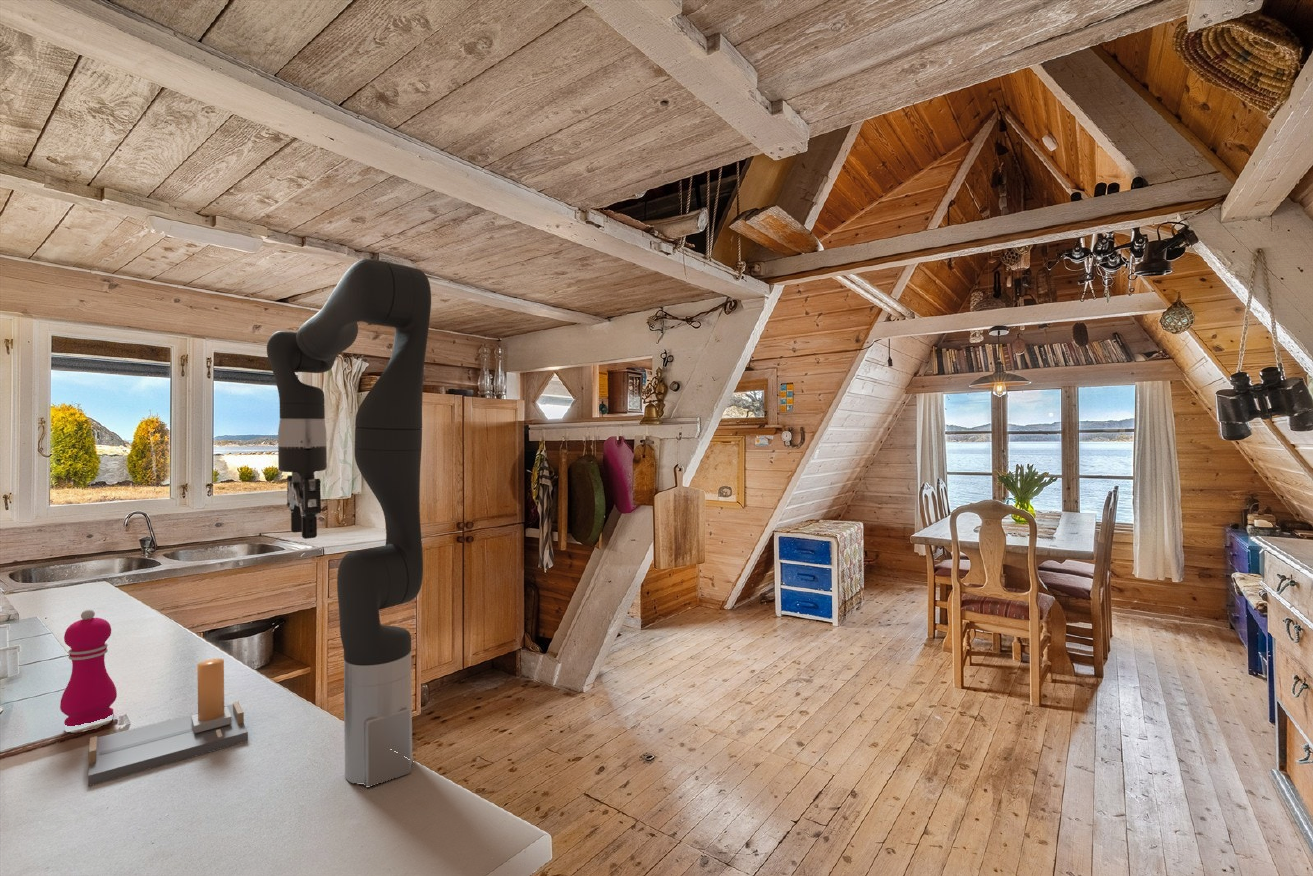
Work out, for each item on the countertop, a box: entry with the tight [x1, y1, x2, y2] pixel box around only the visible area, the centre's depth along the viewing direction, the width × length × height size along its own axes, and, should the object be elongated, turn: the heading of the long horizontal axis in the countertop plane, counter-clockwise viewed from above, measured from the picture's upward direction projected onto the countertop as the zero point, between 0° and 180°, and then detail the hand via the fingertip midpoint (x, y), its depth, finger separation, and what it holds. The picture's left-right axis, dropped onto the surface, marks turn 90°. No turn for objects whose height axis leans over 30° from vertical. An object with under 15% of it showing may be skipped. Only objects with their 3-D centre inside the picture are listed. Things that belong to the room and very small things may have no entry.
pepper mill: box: [59, 609, 118, 726], centre depth 107 cm, size 7×7×20 cm
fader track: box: [87, 701, 249, 787], centre depth 100 cm, size 14×19×3 cm
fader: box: [190, 658, 232, 733], centre depth 103 cm, size 5×5×10 cm
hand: (303, 535), depth 111 cm, fingers open, 8 cm apart
